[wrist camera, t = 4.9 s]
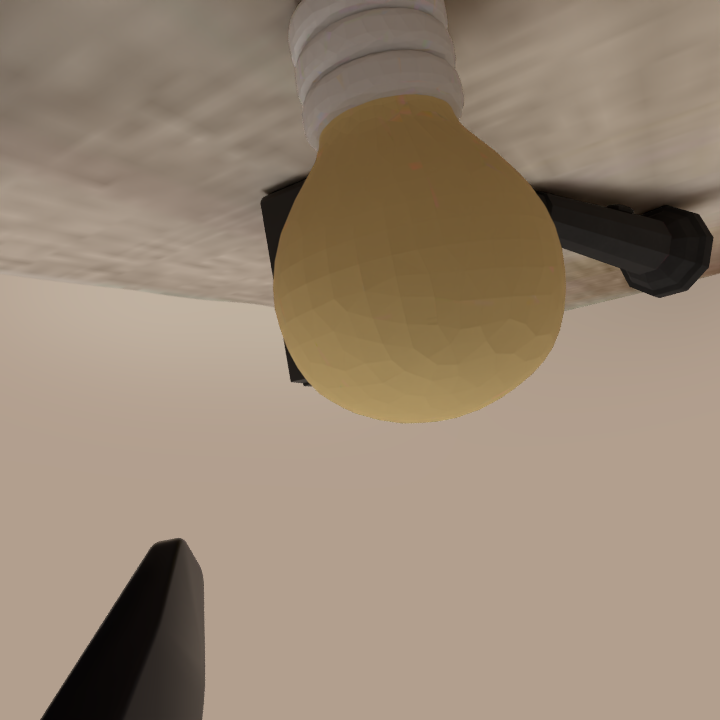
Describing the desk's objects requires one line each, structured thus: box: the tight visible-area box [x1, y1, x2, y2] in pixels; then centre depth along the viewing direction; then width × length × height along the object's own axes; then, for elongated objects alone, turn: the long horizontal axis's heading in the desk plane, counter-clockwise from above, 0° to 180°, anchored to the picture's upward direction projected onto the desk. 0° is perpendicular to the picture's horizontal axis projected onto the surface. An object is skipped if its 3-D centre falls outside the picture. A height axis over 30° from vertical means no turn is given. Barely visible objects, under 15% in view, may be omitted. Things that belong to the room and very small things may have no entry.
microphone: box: [535, 191, 713, 298], centre depth 35 cm, size 6×6×20 cm
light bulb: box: [273, 0, 566, 423], centre depth 14 cm, size 6×6×10 cm
